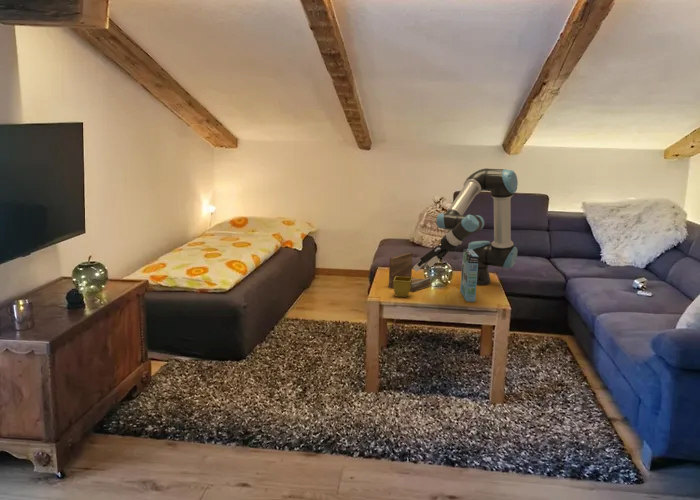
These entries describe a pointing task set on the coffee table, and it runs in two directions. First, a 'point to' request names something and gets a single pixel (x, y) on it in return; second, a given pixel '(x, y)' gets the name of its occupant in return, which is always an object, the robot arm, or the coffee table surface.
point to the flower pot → (402, 286)
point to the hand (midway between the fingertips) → (421, 267)
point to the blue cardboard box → (469, 275)
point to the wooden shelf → (405, 272)
